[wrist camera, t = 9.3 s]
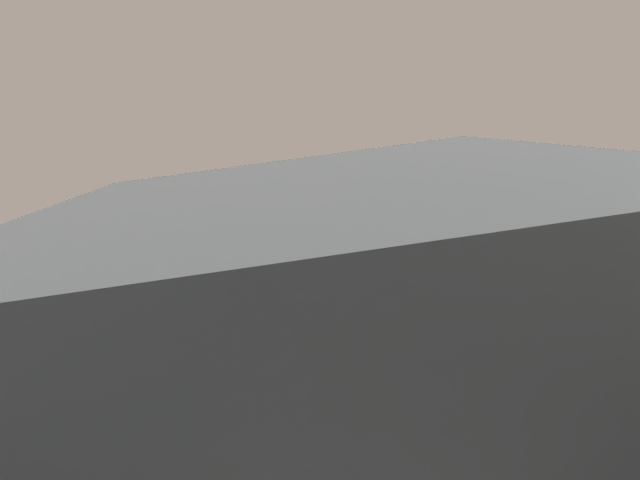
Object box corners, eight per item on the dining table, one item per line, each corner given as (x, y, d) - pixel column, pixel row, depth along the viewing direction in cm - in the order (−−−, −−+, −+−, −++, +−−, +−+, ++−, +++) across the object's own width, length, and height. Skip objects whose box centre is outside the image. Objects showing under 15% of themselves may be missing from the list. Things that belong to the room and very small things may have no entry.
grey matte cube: (475, 407, 16) (462, 136, 14) (774, 853, 6) (899, 173, 4) (178, 454, 15) (113, 182, 13) (3, 1008, 6) (-349, 353, 4)
